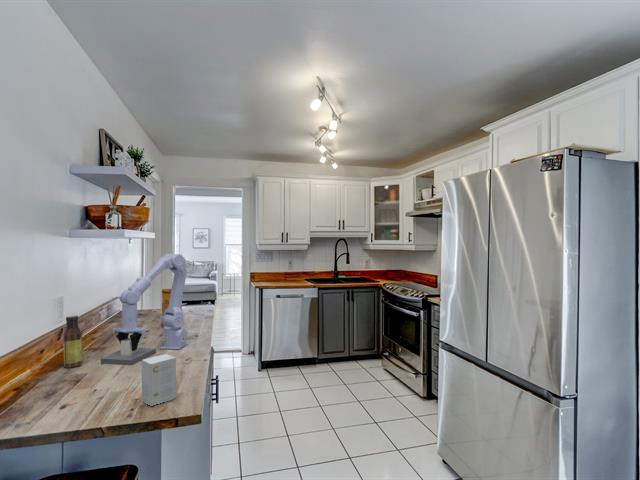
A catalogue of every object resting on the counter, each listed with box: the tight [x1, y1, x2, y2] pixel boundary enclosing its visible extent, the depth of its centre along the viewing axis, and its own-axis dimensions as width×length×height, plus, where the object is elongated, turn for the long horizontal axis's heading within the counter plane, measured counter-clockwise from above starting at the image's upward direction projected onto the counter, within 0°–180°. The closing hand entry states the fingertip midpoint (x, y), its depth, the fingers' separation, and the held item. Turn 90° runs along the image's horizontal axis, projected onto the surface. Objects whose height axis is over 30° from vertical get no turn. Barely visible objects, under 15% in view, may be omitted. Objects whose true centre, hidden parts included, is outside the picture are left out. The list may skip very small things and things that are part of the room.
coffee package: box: [160, 288, 183, 327], centre depth 215 cm, size 10×12×22 cm
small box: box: [141, 353, 177, 407], centre depth 111 cm, size 8×6×13 cm
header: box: [100, 347, 157, 366], centre depth 152 cm, size 14×16×2 cm
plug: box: [120, 337, 139, 356], centre depth 152 cm, size 4×6×8 cm
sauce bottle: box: [62, 314, 84, 369], centre depth 143 cm, size 6×6×20 cm
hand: (129, 350), depth 152 cm, fingers closed on plug, 4 cm apart
